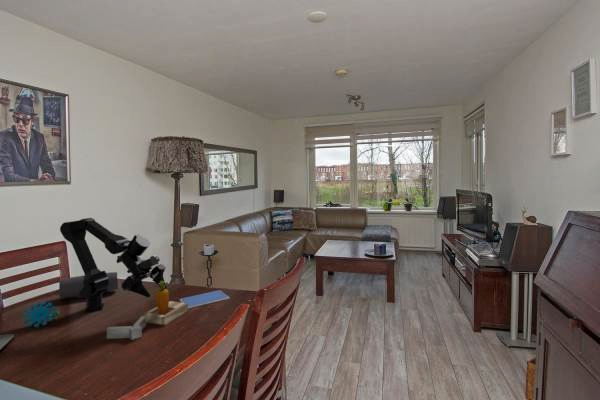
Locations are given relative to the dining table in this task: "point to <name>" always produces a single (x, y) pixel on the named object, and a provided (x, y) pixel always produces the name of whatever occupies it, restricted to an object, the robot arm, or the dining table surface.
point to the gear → (40, 314)
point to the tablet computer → (204, 299)
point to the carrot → (162, 299)
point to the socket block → (173, 312)
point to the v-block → (127, 330)
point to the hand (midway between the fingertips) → (157, 292)
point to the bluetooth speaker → (82, 285)
